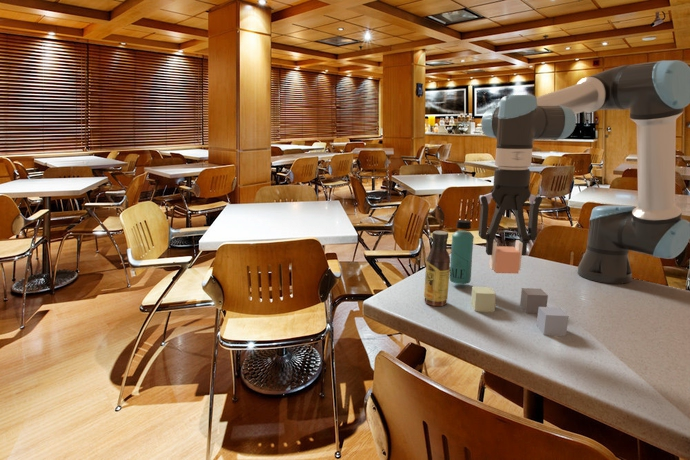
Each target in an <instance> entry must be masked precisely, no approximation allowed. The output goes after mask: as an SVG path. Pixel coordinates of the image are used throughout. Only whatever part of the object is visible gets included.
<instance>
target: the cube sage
mask: <svg viewBox="0 0 690 460" xmlns="http://www.w3.org/2000/svg"><path fill="white" fill-rule="evenodd" d="M496 296H497V294H496V292H495V291H494V289H493V287H491V286H472V287H471V298H470V305H471V306H472V308H473V310H474V311H475V312H489V313H491V312H495V310H496V309H495V308H496Z"/></svg>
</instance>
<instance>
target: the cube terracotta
mask: <svg viewBox="0 0 690 460" xmlns="http://www.w3.org/2000/svg"><path fill="white" fill-rule="evenodd" d="M519 261H520V252H519V251H518V250H517V249H516V248H515V246H503V245H502V246H501V245H500V246H498V245H497V251H496V261H495V270H493V271H494V273H495V274H514V275H515V274H519V271H520V270H519Z"/></svg>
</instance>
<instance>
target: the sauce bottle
mask: <svg viewBox="0 0 690 460" xmlns="http://www.w3.org/2000/svg"><path fill="white" fill-rule="evenodd" d="M431 234H432V235H431V238H432V245H431V249H430V251H429V253H428V254H427V255H428V256H427V258H426V263H425V275H424V276H425V277H424V292H423V296H424V303H425V304H427V305H429V306H432V307H443V306H445V305H446V304H447V300H448V296H449V284H450V282H449V281H450V277H449V273H450V265H451V263H450V260H451V257H450V256H451V255H450V254H449V252H448V250H447V249H448V239H449V232H448V231H445V230H444V231H443V230H435V231H433V232H432V233H431Z"/></svg>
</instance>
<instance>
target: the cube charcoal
mask: <svg viewBox="0 0 690 460" xmlns="http://www.w3.org/2000/svg"><path fill="white" fill-rule="evenodd" d="M520 293H521V294H520V300H519V307H521V308H522V310H523V311H524V312H525V313H526V314H528V313H529V314H538V308H539V307H548V306H547V305H548V297H549V295H548V294H547V293H546V292H545V291H544V290H543V289H542V288H529V287H526V288H525V287H522V288H521V292H520Z"/></svg>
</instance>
